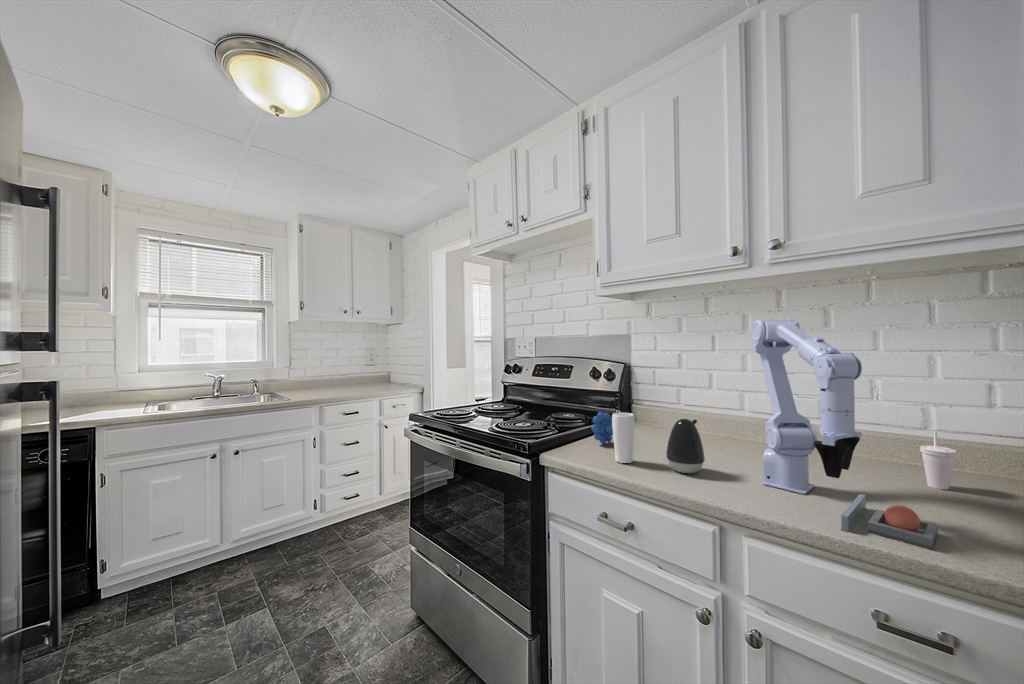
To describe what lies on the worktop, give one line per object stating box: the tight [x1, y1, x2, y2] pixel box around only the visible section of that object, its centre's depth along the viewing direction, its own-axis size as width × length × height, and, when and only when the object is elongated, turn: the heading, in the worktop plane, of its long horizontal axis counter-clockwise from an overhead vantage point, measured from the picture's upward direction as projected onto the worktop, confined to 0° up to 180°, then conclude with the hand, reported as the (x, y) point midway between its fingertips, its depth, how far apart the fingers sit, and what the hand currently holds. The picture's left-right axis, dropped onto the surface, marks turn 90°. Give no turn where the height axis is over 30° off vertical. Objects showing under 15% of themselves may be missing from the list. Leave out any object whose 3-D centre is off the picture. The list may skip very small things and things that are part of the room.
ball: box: [884, 504, 921, 532], centre depth 78 cm, size 5×5×5 cm
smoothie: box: [919, 430, 958, 491], centre depth 100 cm, size 6×6×14 cm
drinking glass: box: [611, 411, 635, 464], centre depth 126 cm, size 7×7×15 cm
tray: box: [867, 509, 939, 551], centre depth 78 cm, size 9×9×2 cm
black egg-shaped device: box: [665, 418, 706, 475], centre depth 116 cm, size 10×10×15 cm
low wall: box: [840, 493, 867, 533], centre depth 85 cm, size 1×16×3 cm, turn 129°
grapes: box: [591, 411, 613, 445], centre depth 146 cm, size 12×7×12 cm, turn 125°
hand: (837, 472), depth 86 cm, fingers open, 7 cm apart
